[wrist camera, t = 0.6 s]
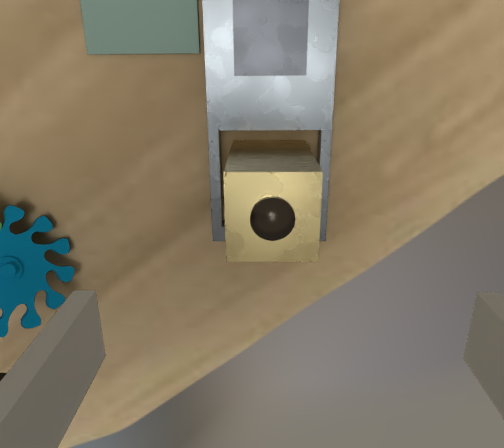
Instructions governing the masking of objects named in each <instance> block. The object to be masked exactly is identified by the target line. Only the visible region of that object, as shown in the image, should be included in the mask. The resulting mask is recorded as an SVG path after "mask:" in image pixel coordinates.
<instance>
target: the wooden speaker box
mask: <svg viewBox="0 0 504 448" xmlns="http://www.w3.org/2000/svg"><path fill="white" fill-rule="evenodd" d="M223 177H224V208H225V239H226V262H318V257H319V238H320V218H321V199H322V179H323V171H322V169H321V168H320V166H319V164H318V162H317V160H316V159H315V157H314V155H313V153H312V151H311V150H310V148H309V146H308V144H307V142H306V141H305V140H233V144H232V147H231V150H230V153H229V156H228V159H227V162H226V165H225V169H224V172H223Z"/></svg>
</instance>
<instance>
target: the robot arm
mask: <svg viewBox="0 0 504 448" xmlns="http://www.w3.org/2000/svg"><path fill="white" fill-rule="evenodd" d="M105 356H106V355H105V348H104V342H103V335H102V328H101V322H100V315H99V309H98V302H97V296H96V290H74V291H73V292H72V293H71V295H70V296H69V297H68V298H67V300H66V301H65V302H64V303H63V305H62V306H61V307H60V308H59V309H58V311H57V312H56V313H55V314H54V316H53V317H52V318H51V319H50V321H49V322H48V323H47V324H46V326H45V327H44V328H43V329H42V330H41V332H40V333H39V334H38V335H37V337H36V338H35V339H34V340H33V342H32V343H31V344H30V345H29V347H28V348H27V349H26V350H25V352H24V353H23V354H22V355H21V356H20V358H19V359H18V360H17V361H16V363H15V364H14V365H13V366H12V368H11V369H10V370H9V371H8V373H0V448H58V446H59V444H60V442H61V440H62V438H63V436H64V435H65V433H66V431H67V429H68V427H69V425H70V423H71V421H72V419H73V417H74V415H75V414H76V412H77V410H78V408H79V406H80V404H81V402H82V400H83V398H84V396H85V394H86V393H87V391H88V389H89V387H90V385H91V383H92V381H93V379H94V377H95V375H96V373H97V372H98V370H99V368H100V366H101V364H102V362H103V360H104V358H105ZM463 359H464V361H465V362H466V364H467V365H468V367H469V368H470V369H471V371H472V373H473V374H474V376H475V377H476V378H477V380H478V381H479V383H480V384H481V386H482V387H483V389H484V390H485V392H486V393H487V395H488V396H489V398H490V399H491V401H492V402H493V404H494V405H495V407H496V408H497V410H498V411H499V413H500V414H501V416H502V417H503V419H504V296H502V294H500V293H499V292H477V293H476V298H475V303H474V308H473V313H472V318H471V324H470V328H469V333H468V338H467V343H466V348H465V353H464V358H463Z"/></svg>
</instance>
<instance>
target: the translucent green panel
mask: <svg viewBox="0 0 504 448" xmlns="http://www.w3.org/2000/svg"><path fill="white" fill-rule="evenodd" d="M80 2H81V10H82V17H83V25H84V33H85V40H86V48H87V54H185V53H200V40H199V18H198V0H80Z"/></svg>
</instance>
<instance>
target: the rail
mask: <svg viewBox="0 0 504 448" xmlns="http://www.w3.org/2000/svg"><path fill="white" fill-rule="evenodd" d="M202 4H203V27H204V50H205V73H206V96H207V119H208V142H209V165H210V188H211V212H212V235H213V241H226V239H225V220H223V201H222V171H221V142H220V130H319V137H318V159H317V162H318V164H319V166H320V168H321V169H322V171H323V179H322V199H321V218H320V238H319V241H326V226H327V209H328V191H329V174H330V156H331V138H332V121H333V103H334V85H335V68H336V50H337V33H338V15H339V0H202Z"/></svg>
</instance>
